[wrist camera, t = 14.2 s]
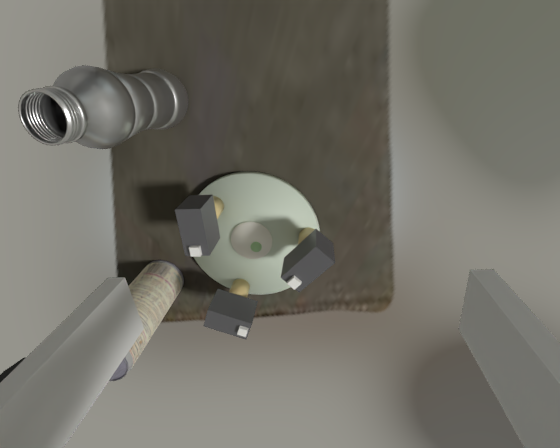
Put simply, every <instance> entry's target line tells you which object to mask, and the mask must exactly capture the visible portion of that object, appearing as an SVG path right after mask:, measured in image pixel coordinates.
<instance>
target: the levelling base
mask: <svg viewBox="0 0 560 448" xmlns="http://www.w3.org/2000/svg"><path fill="white" fill-rule="evenodd" d="M199 195H213V196H216V197H218V198H220V199H221V200H222V201H223V203H224V210H223V212H222V213H221V215H220V216H219V218H218V219H217V222H218V227H219V233H220V239H219V241H218V243H217V244H216V246H215V248H214V249H213V251H212V253H211V254H210V256H201V257H194V259H195V260H196V262H197V263H198V265H199V266H200V267H201V268H202V269H203V271H205V272H206V273H207V274H208V275H209V276H210V277H211V278H212V279H214V280H215V281H217V282H218V283H220V284H221V285H223V286H225V287H228V288H230V289H231V286H232V284H233V282H234V281H235V280H236V279H244V280H246V281H247V282H248V283H249V285H250V289H249V293H248V294H271V293H276V292H280V291H283V290H285V289H288V288H290V286H289V285H288V284H287V282H285V281H284V280H283V279H282V278H281V273H282V267H283V261H284V257H285V256H286V255H288V254H289V253H290V252H291V251H292V250H293V249H294V248H295V247H296V246H297V245H298V239H299V233H300V231H301V230H302V229H304V228H313V229H317V230H318V231H319V232H320V229H319V223H318V219H317V216H316V214H315V211H314V209H313V207H312V206H311V204H310V203H309V201H308V200H307V199H306V197H305V196H304V195H303V194H302V193H301V192H300V191H299V190H298V189H297V188H295V187H294V186H293V185H291V184H290V183H288V182H287V181H285V180H283V179H281V178H279V177H276V176H274V175H271V174H267V173H263V172H255V171H242V172H235V173H231V174H228V175H225V176H223V177H220V178H218V179H217V180H215V181H213V182H212V183H210V184H209V185H208V186H207V187H206V188H205V189H204V190H203V191H202V192H201V193H200V194H199Z"/></svg>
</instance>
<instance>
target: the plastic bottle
mask: <svg viewBox="0 0 560 448" xmlns="http://www.w3.org/2000/svg"><path fill="white" fill-rule="evenodd" d="M187 109H188V96H187V92H186V89H185V87H184V85H183V84H182V82H181V81H180V80H179V79H178V78H177V77H176V76H175V75H173V74H171V73H169V72H167V71H165V70H162V69H156V68H154V69H148V70H144V71H142V72H140V73H137V74H122V73H116V72H112V71H109V70H105V69H102V68H99V67H93V66H84V65H82V66H77V67H74V68H72V69H69V70H67V71H65V72H63V73H62V74H61V75H60V76H59V77H58V78H57V80H56V81H55V83H54V85H53V86H47V87H43V88H40V89H39V88H38V89H32V90H29V91H27V92H25V93H24V94H23V95H22V97H21V98H20V101H19V105H18V111H19V117H20V120H21V122H22V124H23V126H24V128H25V129H26V131H27V132H28V133H29V134H30V135H31V136H32V137H33V138H34V139H36V140H37V141H39V142H41V143H43V144H46V145H60V144H63V143H72V142H77V143H79V144H81V145H83V146H87V147H90V148H97V149H108V148H112V147H115V146H117V145H119V144H121V143H123V142H124V141H125V140H127V139H128V138H130V137H131V136H133V135H134V134H137V133H139V132H141V131H144V130H147V129H169V128H172V127H174V126H175V125H177V124H178V123H179V122H180V121H181V120H182V119H183V118H184V116H185V115H186V112H187Z"/></svg>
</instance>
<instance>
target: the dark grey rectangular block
mask: <svg viewBox="0 0 560 448" xmlns="http://www.w3.org/2000/svg"><path fill="white" fill-rule="evenodd" d="M223 210H224V203H223V201H222V200H221V199H220V198H218V197H216V196H213V195H189V196H188V197H187V198H186V199H185V200H184V201H183V202H182V203H181V204H180V205H179V206H178V207H177V208H176V209H175V214H176V218H177V222H178V226H179V231H180V235H181V239H182V243H183V248H184V252H185V256H191V257H201V256H210V254H211V253H212V251H213V249H214V248H215V246H216V244H217V243H218V241H219V239H220V233H219V227H218V222H217V219H218V218H219V216H220V215H221V213H222V212H223Z"/></svg>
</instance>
